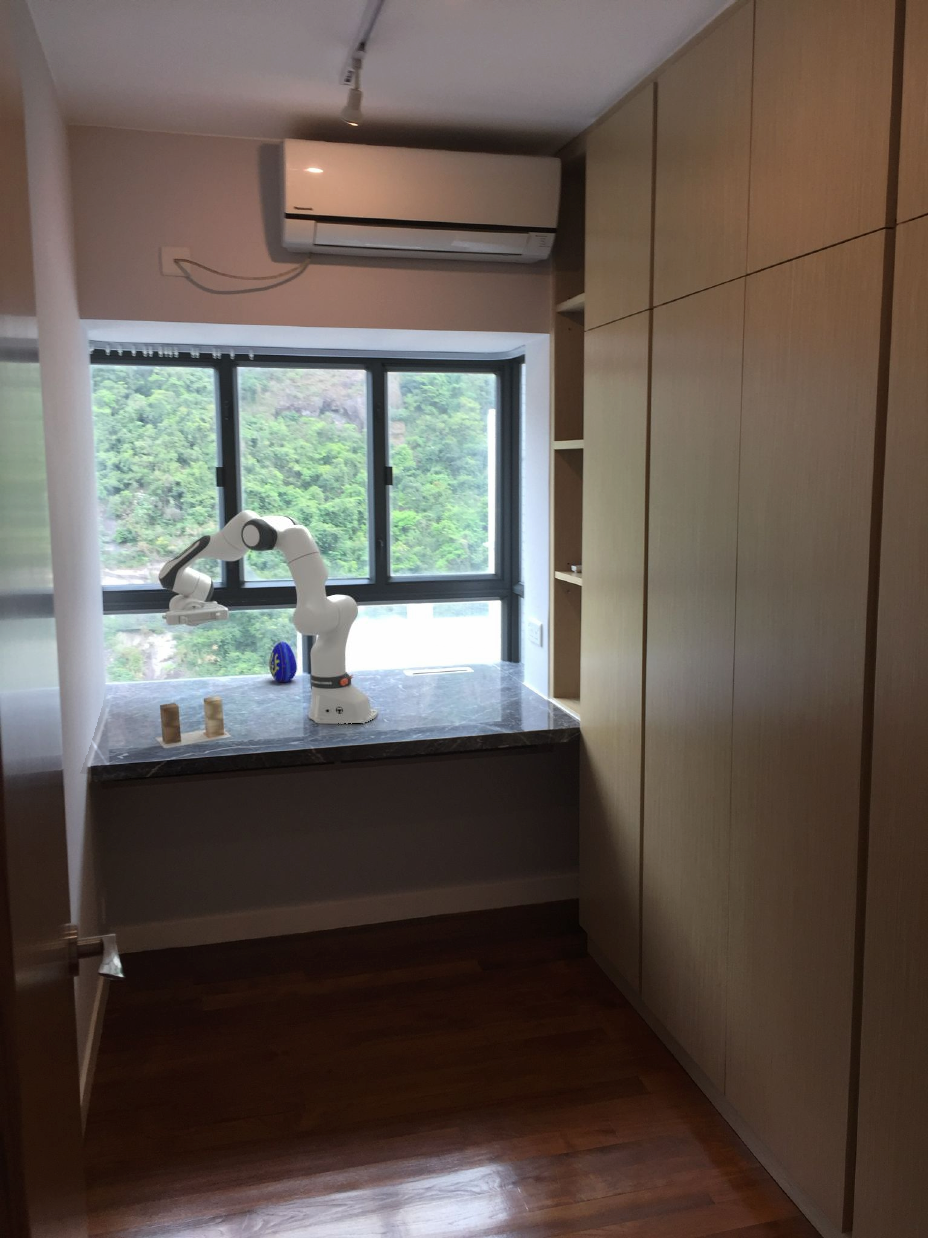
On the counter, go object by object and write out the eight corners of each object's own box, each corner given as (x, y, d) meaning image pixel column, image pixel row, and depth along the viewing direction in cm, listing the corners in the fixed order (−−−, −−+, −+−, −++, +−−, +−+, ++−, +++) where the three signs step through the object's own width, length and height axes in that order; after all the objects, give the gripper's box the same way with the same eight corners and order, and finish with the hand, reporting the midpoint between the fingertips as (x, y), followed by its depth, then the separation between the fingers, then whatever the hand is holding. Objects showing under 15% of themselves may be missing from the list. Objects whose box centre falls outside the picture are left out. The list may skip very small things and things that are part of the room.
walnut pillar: (177, 737, 286) (174, 702, 284) (181, 741, 282) (178, 706, 280) (162, 740, 284) (159, 705, 281) (166, 744, 280) (163, 708, 278)
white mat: (220, 728, 296) (220, 726, 296) (231, 738, 287) (231, 736, 287) (155, 740, 286) (155, 738, 286) (164, 750, 277) (164, 748, 277)
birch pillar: (220, 730, 292) (217, 696, 290) (224, 734, 289) (222, 699, 287) (205, 732, 290) (203, 698, 288) (209, 736, 286) (207, 701, 284)
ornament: (266, 680, 353) (264, 641, 350) (288, 676, 358) (286, 637, 356) (279, 686, 344) (277, 646, 341) (302, 682, 350) (300, 642, 347)
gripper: (159, 606, 313) (170, 613, 301) (220, 600, 323) (233, 607, 312) (161, 625, 314) (171, 632, 303) (221, 618, 325) (234, 625, 313)
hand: (203, 619), depth 307 cm, fingers open, 8 cm apart
